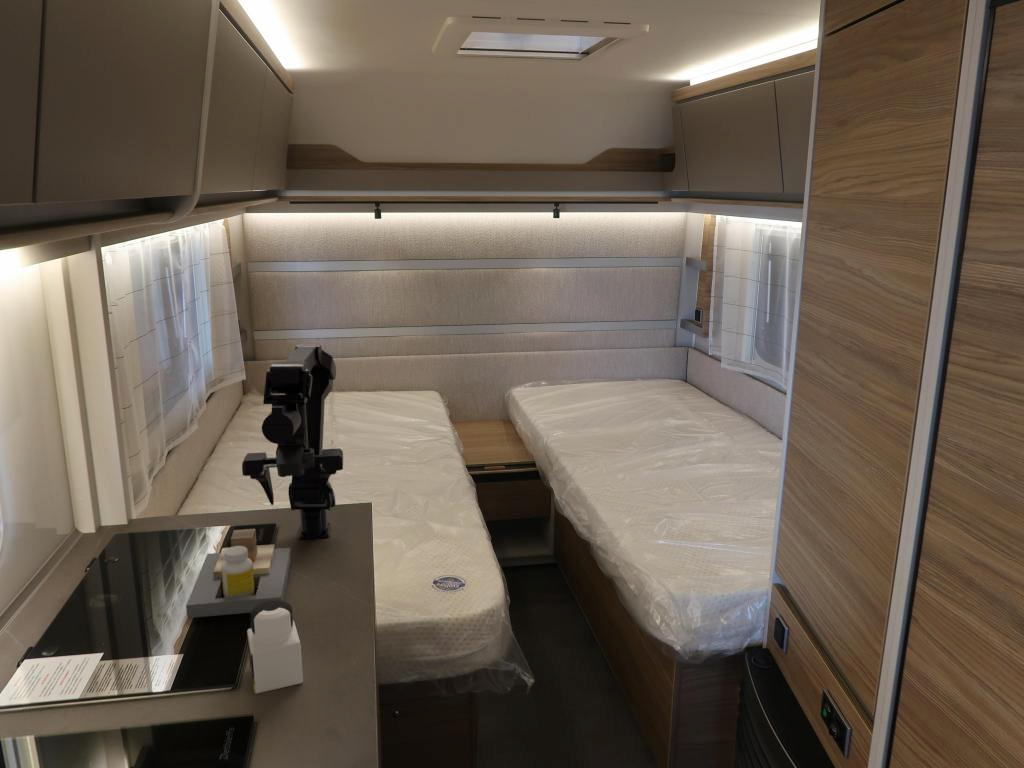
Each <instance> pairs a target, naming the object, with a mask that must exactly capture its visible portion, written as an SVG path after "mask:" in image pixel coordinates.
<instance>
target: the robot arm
mask: <svg viewBox="0 0 1024 768" xmlns="http://www.w3.org/2000/svg"><path fill="white" fill-rule="evenodd" d="M336 378H337V366H336V364H335V361H334V357H333V356H332V355H330V354H329V353H328V352H326V351H324V350H323V348H322V346H321V344H318V343H299V344H296V346H295V349H294V351H293V352H292V353H291V355H289V356H288V358H287V359H286V360H285V361H277V362H273V363H271V365H270V366H269V369H267V371H266V375H265V382H264V389H263V390H264V392H263V405H271V411H270V412H269V414H268V415H267V416H266V417H265V418H264V419H263V422H262V424H261V432H262V435H263V437H264V438H265V439H266V440H267V441H268V442H269V443H272V444H275V445H277V447H276V450H275V457H267V453H266V452H249V453H246V455H245V456H244V458H243V460H242V463H241V470H242V472H241V473H242V476H244V477H250V478H249V479H251V480H255V481H257V482H258V483H259V484H260V485H261V487H262V489H263V491H264V493H265V495H266V497H267V498H268V501H269V503H270V506H273V505H274V504H275V503H274V502H275V500H274V497H275V496H274V490H273V484H272V483H273V482H272V477H271V472H270V468H271V469H272V468H277V470H276V471H277V476H278V477H280V478H286V477H291V482H290V483H289V485H288V499H289V506H290V509H291V511H299V518H300V519H299V520H300V521H299V522H300V525H299V529H298V535H297V538H298V540H305V539H317V538H318V539H319V538H329V537H330V530H331V523H330V522H328V511H330V510H331V509H332V508H334V507H336V506H337V505H336V495H335V491H334V489H333V487H332V483H331V482H330V481H329V480H330V478H331V476H332V475H336V474H337V471H341V470H344V451H343V450H342V449H341V448H324V449H323V447H324V444H323V443H324V425H325V422H324V421H325V405H326V403H325V400H326V399H327V397H328V396H329V394H330V393H331V392H332V390H333V387H334V384H333V383H334V380H336Z"/></svg>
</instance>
